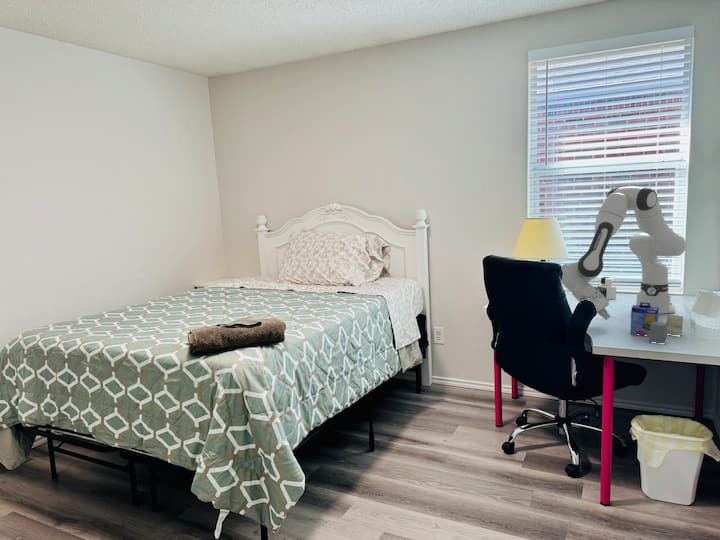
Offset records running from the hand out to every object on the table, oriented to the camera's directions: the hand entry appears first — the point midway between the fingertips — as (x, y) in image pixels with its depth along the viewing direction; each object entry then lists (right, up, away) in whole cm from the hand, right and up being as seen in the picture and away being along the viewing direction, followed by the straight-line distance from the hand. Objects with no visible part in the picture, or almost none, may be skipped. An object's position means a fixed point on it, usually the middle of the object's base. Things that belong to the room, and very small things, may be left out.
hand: (608, 318), depth 221 cm
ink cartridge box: (+11, -6, -9) cm, 15 cm away
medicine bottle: (+29, +5, +61) cm, 68 cm away
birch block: (+22, -6, -11) cm, 26 cm away
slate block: (+10, -8, -20) cm, 24 cm away
